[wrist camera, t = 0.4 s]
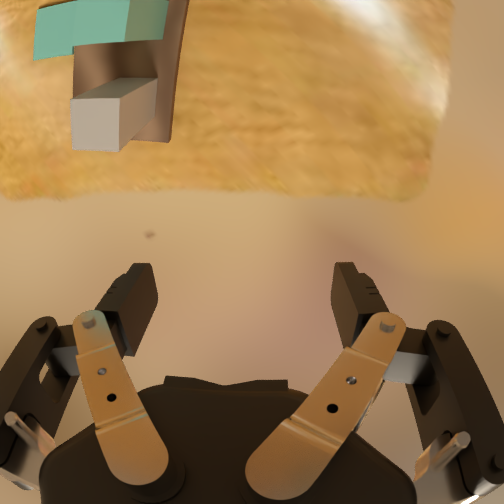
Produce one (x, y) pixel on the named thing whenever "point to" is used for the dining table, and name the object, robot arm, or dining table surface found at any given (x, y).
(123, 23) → the tall teal pillar
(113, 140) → the tall grey rectangular prism
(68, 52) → the pad
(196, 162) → the dining table surface
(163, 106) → the dark wooden board
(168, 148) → the dining table surface
